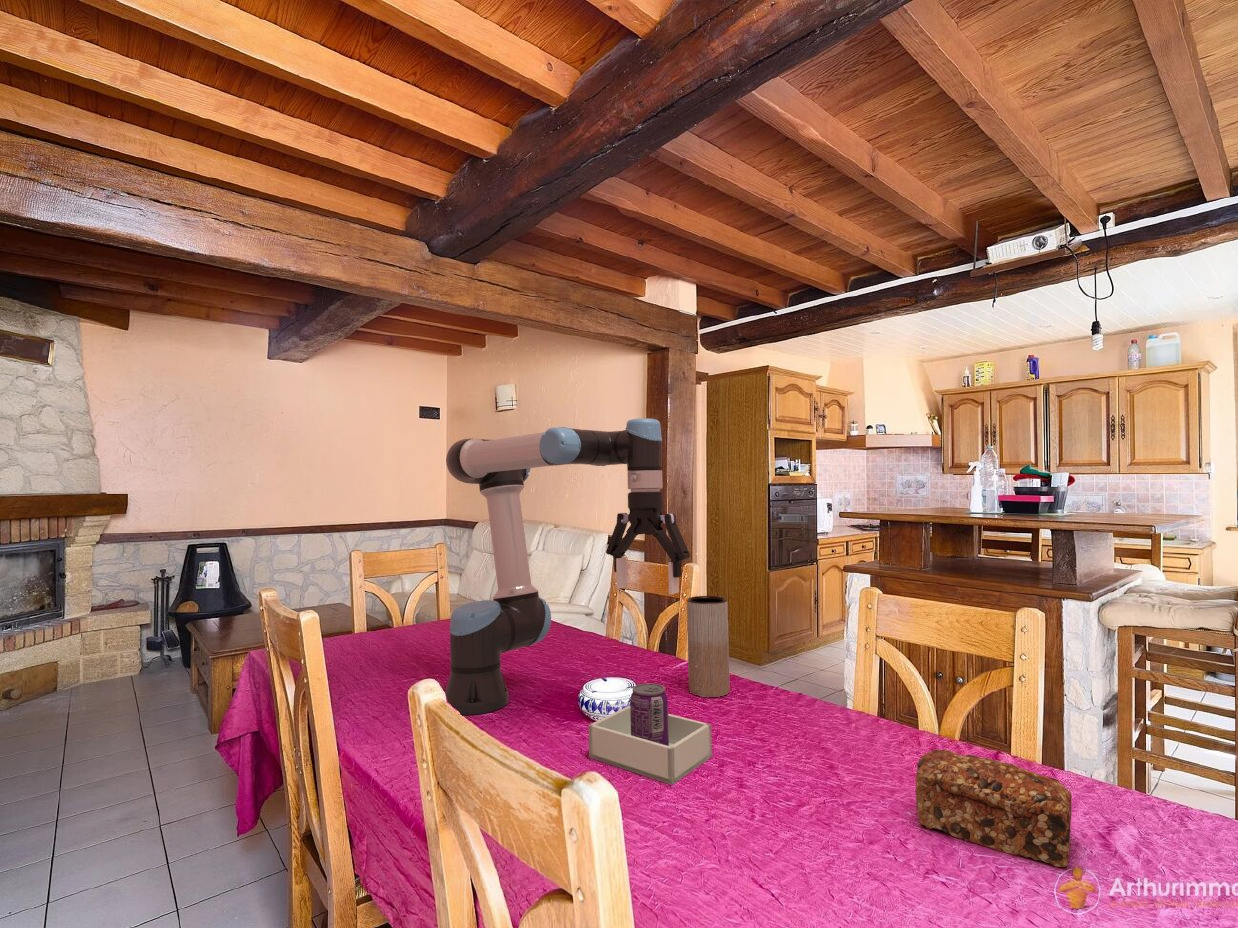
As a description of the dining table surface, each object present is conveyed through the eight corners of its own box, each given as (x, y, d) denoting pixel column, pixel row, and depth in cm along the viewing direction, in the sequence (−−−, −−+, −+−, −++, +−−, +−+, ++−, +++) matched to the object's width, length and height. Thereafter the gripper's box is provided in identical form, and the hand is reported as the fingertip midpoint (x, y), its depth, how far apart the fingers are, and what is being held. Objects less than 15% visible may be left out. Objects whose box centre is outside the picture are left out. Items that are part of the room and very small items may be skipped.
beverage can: (672, 747, 119) (671, 684, 119) (663, 763, 112) (662, 695, 112) (637, 743, 121) (636, 680, 121) (626, 758, 114) (624, 692, 115)
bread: (914, 828, 91) (912, 759, 91) (931, 799, 99) (928, 736, 100) (1071, 876, 79) (1068, 796, 80) (1075, 838, 88) (1071, 766, 88)
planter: (711, 701, 146) (709, 604, 147) (680, 691, 153) (678, 599, 154) (738, 691, 153) (735, 598, 153) (707, 682, 160) (704, 594, 161)
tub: (589, 757, 117) (588, 725, 117) (632, 734, 127) (631, 704, 128) (672, 784, 105) (671, 749, 106) (711, 756, 116) (711, 724, 116)
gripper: (589, 491, 138) (591, 587, 137) (685, 490, 122) (687, 598, 122) (610, 491, 144) (612, 583, 143) (704, 489, 128) (707, 592, 128)
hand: (647, 590), depth 132 cm, fingers open, 13 cm apart
